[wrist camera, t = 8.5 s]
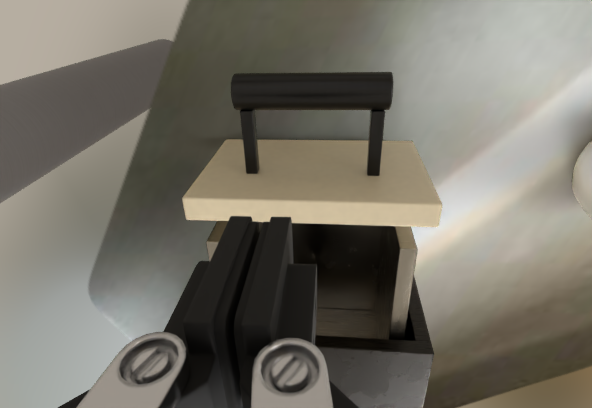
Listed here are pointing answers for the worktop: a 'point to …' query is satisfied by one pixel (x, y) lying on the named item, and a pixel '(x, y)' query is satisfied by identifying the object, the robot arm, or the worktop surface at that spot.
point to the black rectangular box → (382, 364)
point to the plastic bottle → (584, 179)
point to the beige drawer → (327, 197)
